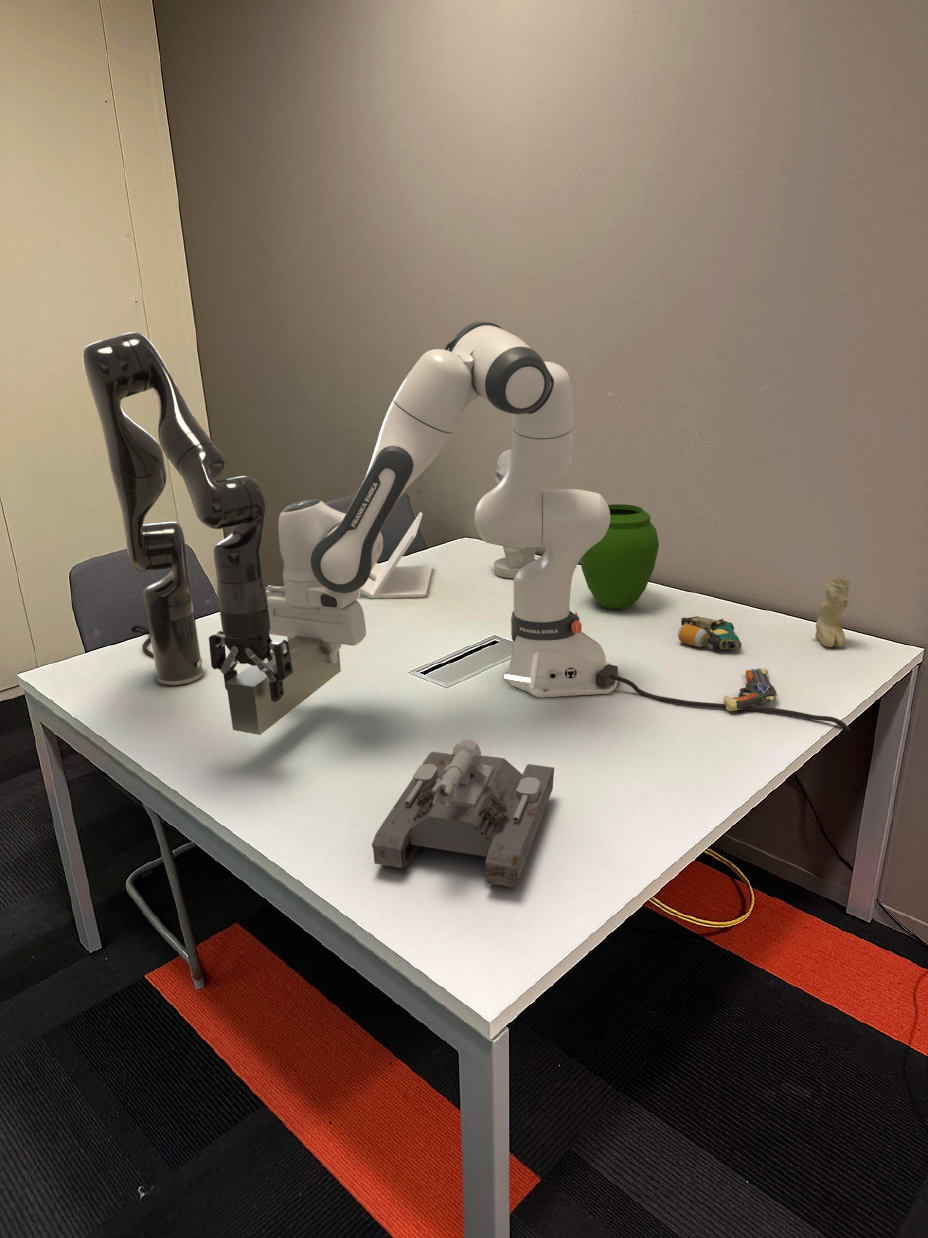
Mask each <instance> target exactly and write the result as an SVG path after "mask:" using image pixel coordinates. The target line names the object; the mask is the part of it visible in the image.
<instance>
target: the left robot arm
mask: <svg viewBox="0 0 928 1238" xmlns="http://www.w3.org/2000/svg"><path fill="white" fill-rule="evenodd" d="M82 364H83V369H84V373H85V377H86V380H87V384H88V387H89V390H90V392H91V395H92V398H93V402H94V405H95V408H96V412H97V415H98V417H99V421H100V425H101V429H102V433H103V438H104V444H105V448H106V454H107V458H108V464H109V469H110V474H111V477H112V481H113V485H114V487H115V492H116V495H117V499H118V503H119V507H120V512H121V517H122V522H123V530H124V537H125V543H126V549H127V555H128V558H129V562H130V563H131V566H132V567H133V568H134V569H135V570H136V571H140V572H150V571H158V570H159V571H160V570H167V569H168V570H169V569H171V570H170V571H169V573H167V575H165V576H164V577H163V578H161V579H159V580H157V581H155V582H153V583H150V584H149V585H147V586H146V587H145V588H144V589H143V593H142V595H143V603H144V609H145V615H146V620H147V626H148V627H147V626H145V625H143V624H134V625H132V627H131V628H130V630H131V631H135V630H137V629H139V630H143V631H145V632H146V633H148V634H149V636H148V637H147V639H145V641H144V642H143V644H142V650H143V651H144V653H145V654H146V655H147V656H149V658H152V659H153V662H154V666H155V672H156V681H157V682H158V683H159V684H160V685H164V686H181V685H182V686H183V685H186V684H187V685H188V684H190V683H194V682H196V681H197V680H199V679H201V678H202V677H203V676H204V668H203V665H202V664H203V663H204V662H203V657H202V656H201V650H200V643H199V637H198V630H197V623H196V617H195V610H194V604H193V597H192V590H191V584H190V579H189V571H188V563H187V561H188V560H187V551H186V550H187V549H186V541H185V535H184V531H183V528H182V527H181V525H180V524H179V522H176V521H165V522H154V523H146V524H145V523H144V522H145V519H146V517H147V516H148V514H149V512H150V510H151V509H152V508H153V506H154V505H155V504H156V502H157V501H158V499H159V498H160V496H161V495H162V494H163V492H164V489H165V487H166V484H167V471H166V466H165V465H166V463H165V458H164V454H165V456H166V457H167V459H168V461H169V462H170V463H171V464H172V466H173V467H174V469H176V471H177V473H178V474H179V475H180V476H181V477H182V479H183V481H184V485H185V486H186V490H187V492H188V494H189V498H190V500H191V503H192V507H193V509H194V512H195V514H196V516H197V519H198V520H199V521H200V522H201V523H202V524H203V525H205V526H206V527H208V528H209V529H213V530H223V529H227V528H230V527H231V528H232V527H233V528H232V531H231V533H230V534H229V536H227V537H226V538H224V539H222V540H220V541H219V542H218V543H217V544H215V546H214V548H213V560H214V566H215V567H214V568H215V575H216V580H217V581H216V585H217V586H216V587H217V589H216V590H217V592H216V594H217V601H218V609H219V616H220V622H221V630H218V631H217V632H215V633H213V634H211V635H209V637H208V644H209V654H210V655H209V656H210V667H211V668H212V669H213V670H219V671H220V672H221V674H222V676H223V681H224V688H225V690H226V691H227V685H226V682H227V681H229V680H230V679H232V678H233V677H235V676H236V675H238V670H237V669H236V667H237V666H238V664H240V665H246V664H247V665H249V666H251V665H253V666H256V665H257V667H258V668H259V670H260V671H261V672H264V673H265V674H266V675H267V677H268V678H269V679H270V681H269V687H270V695H271V701H273V702H277V701H278V700H280V699H281V698H282V696H283V695H284V688H283V680H284V679H285V678H286V677H288V676H289V675H291V674H292V673H293V669H292V662H291V656H290V650H289V644H288V640H287V639H283V640H281V641H273V640H272V639H271V636H270V634H269V632H270V618H269V609H268V601H267V592H266V588H267V587H266V582H265V578H264V574H263V565H262V557H261V545H262V540H263V533H264V527H265V521H266V514H267V513H266V512H267V499H266V495H265V492H264V490H263V487H262V486H261V484H260V483H259V482H258V481H257V479H255V478H254V477H251V476H247V475H241V476H236V477H231V478H227V479H226V478H225V479H221V480H218V479H219V478H221V476H222V475H223V474H224V472H225V470H226V466H227V465H226V459H225V457H224V455H223V453H222V452H221V450H220V449H219V447H218V446H216V444H215V442H213V440H212V439H211V438H210V436H209V435H208V434H207V432H206V431H205V430H204V429H203V428H202V426H201V425H200V423H199V421H197V419H196V417H195V416H194V415H193V413H192V411H191V409H190V407H189V405H188V404H187V401H186V400H185V398H184V396H183V394H182V393H181V391H180V389H179V387H178V385H177V383H176V381H175V380H174V378H173V376H172V374H171V373H170V371H169V370H168V368H167V365H166V364H165V362H164V361H163V359H162V357H161V355H160V354H159V352H158V351H157V349H156V348H155V346H154V345H153V344H152V342H151V341H150V340H149V339H148V338H147V337H146V336H145V335H143V334H142V333H140V332H137V331H133V332H127V333H123V334H120V335H117V336H112V337H109V338H106V339H102V340H98V341H96V342H92V343H90V344H87V346H85V348H83V351H82ZM149 390H151V391H153V392H154V393H155V395H156V397H157V399H158V409H159V410H158V424H157V425H158V426H157V427H158V429H157V434H158V441H159V443H158V441H157V440H156V439H155V437H154V436H152V435H151V434H150V433H148V432H147V431H146V430H145V429H144V428H142V427H141V426H140V425H138V424H137V423H136V422H134V421H133V420H132V419H131V418H130V417H129V416H128V415H126V413H125V412H124V411H123V409H122V405H121V403H122V400H124V399H125V398H128V397H132V396H135V395H138V394H141V393H144V392H147V391H149ZM149 643H151V648H152V652H151V650H149V649H148V644H149ZM226 649H227V650H228V651H229V653H228V655H226V654H227V653H226ZM272 652H273V653H272ZM266 658H267V660H268V663H264V662H263V661H264V660H265V659H266ZM270 667H271V668H272V669H273V671H274V672H275V673H274V672H273V671H272V669H271V668H270Z"/></svg>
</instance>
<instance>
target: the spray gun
mask: <svg viewBox="0 0 928 1238" xmlns="http://www.w3.org/2000/svg"><path fill="white" fill-rule="evenodd" d="M680 624H681V627H680V628H679V630H678V632H677V638H678V641H679V642H680V643H682V644H685V645H688V646H692V647H697V648H702V647H706V646H708V645H709V644H710V645H712V646H715V647H718V648H719V649H720V650H724V649H726V650H738V651H739V650H741V649H742V646H743V645H742V642H741V641H740V638H739V636H738V635H737V634H736V632H735V631H734V630H735V627H734V624H733V622H731V621H729V622H728V620H725V619H724V618H720V619H713V618H707V617H702V616H698V615H697V616H690V617H686V616H685V617H684V616H683V617H681V620H680Z"/></svg>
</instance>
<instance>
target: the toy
mask: <svg viewBox="0 0 928 1238" xmlns="http://www.w3.org/2000/svg"><path fill="white" fill-rule="evenodd" d="M554 776H555V767H553V766H546V765H539V764H530V763H528V764H527V765H526V766H525V768H524V770H523V772H522V773H521V772H520V771H519V770H518V769H517V768H516V767H514V766H513V765H512V764H511V763H510V762H509V761H508V760H507V759H506V758H505V757H499V756H497V757H496V756H492V755H491V756H490V755H482V751H481V747H480V746H479V744H478V743H477V742H475V741H474V740H473V739H472V740H471V739H462V740H460V741H459V742H457V743H456V744H455V745H454V746H453V748H452V752H451V753H445V752H438V751H431V752H429V754H427V756H426V758H425V759H424V761H423V762H422V764H421V765H419V766H418V767H417V769H416V770H415V772H414V773H413V775H412V779H411V780H410V782H409V783H408V785H407V786H406V788H405V789H404V791H403V792H402V794H401V795H400V797H399V798H398V800H396V803H395V804H394V805H393V807H392V809H391V810H390V812H389V813H388V815H387V816H386V817H385V819H384V820H383V822H382V823H381V825H380V827H379V829H377V831H376V833H375V835H374V838H373V840H372V843H371V847H372V851H373V852H372V853H373V862H374V864H375V865H380V866H386V867H393V868H398V869H407V868H408V867H409V864H410V863H411V861H412V860H413V858H414V856H415V855H416V853H417V851H418V850H419V847H424V848H429V849H430V848H431V849H437V850H443V851H450V852H456V853H462V854H467V855H475V856H480V857H481V856H482V857H486V858H485V862H484V869H485V871H484V873H485V883H486V884H492V885H499V886H505V887H511V888H516V886H518V884H519V881H520V879H521V875H522V873H523V870H524V868H525V865H526V863H527V859H528V857H529V855H530V852H531V849H532V846H533V844H534V842H535V838H536V836H537V833H538V830H539V828H540V825H541V822H542V820H543V817H544V814H545V812H546V809H547V806H548V804H549V801H550V798H551V795H552V792H553V789H554Z"/></svg>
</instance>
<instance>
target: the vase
mask: <svg viewBox="0 0 928 1238" xmlns="http://www.w3.org/2000/svg"><path fill="white" fill-rule="evenodd" d="M607 505H608V507H609V511H610V525H609V528H608V531H607V533H606V534H605V536H604V537H603V538H602V540H601V541H599V542H598V543H597V544H595V545H594V546H593V547H591V548H590V549H589V550H588V551H587V552H586V553H585V554H584V555H583V556H582V558H581V559H580V561H579V562H580V569H581V571H582V574H583V577H584V580H585V583H586V585H587V588H588V590H589V591H590V594H592V597H593V598H594V600H595V601H596V602H597V603H598V604H599V605H600V606H602V607H604V608H606V609H609V610H625V609H628V608H630V607H632V606H634V604H636V602H638V601H639V599H640V597H641V596H642V595H643V593H644V592H645V590H646V588H647V586H648V584H649V581H650V579H651V577H652V574H653V572H654V570H655V566H656V562H657V557H658V552H659V548H660V544H659V543H660V542H659V537H658V531H657V528H656V527H655V526H654V524H653V523H652V522H651V515H650V514H649V512H647V511H645V510H644V509H643V508H642V507H641V506H638V505H633V504H622V503H621V504H619V503H616V504H615V503H614V504H607Z"/></svg>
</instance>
